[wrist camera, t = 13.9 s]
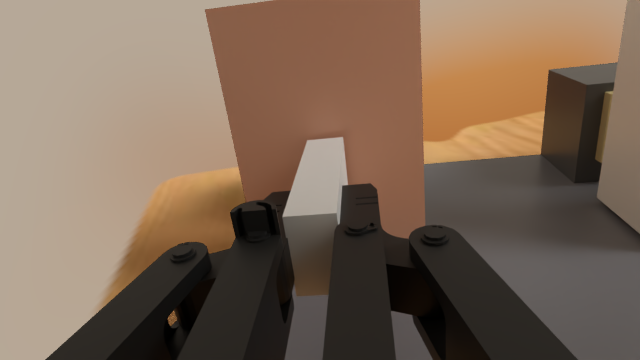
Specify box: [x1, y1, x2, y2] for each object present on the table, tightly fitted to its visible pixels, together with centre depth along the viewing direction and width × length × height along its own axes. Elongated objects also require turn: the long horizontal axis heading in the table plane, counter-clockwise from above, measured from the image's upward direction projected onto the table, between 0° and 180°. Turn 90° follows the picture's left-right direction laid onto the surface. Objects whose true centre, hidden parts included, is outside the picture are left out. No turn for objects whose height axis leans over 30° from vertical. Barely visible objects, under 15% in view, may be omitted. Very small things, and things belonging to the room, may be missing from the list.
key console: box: [284, 63, 640, 360], centre depth 21 cm, size 18×27×7 cm
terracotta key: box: [205, 0, 425, 239], centre depth 20 cm, size 5×8×12 cm, turn 86°
